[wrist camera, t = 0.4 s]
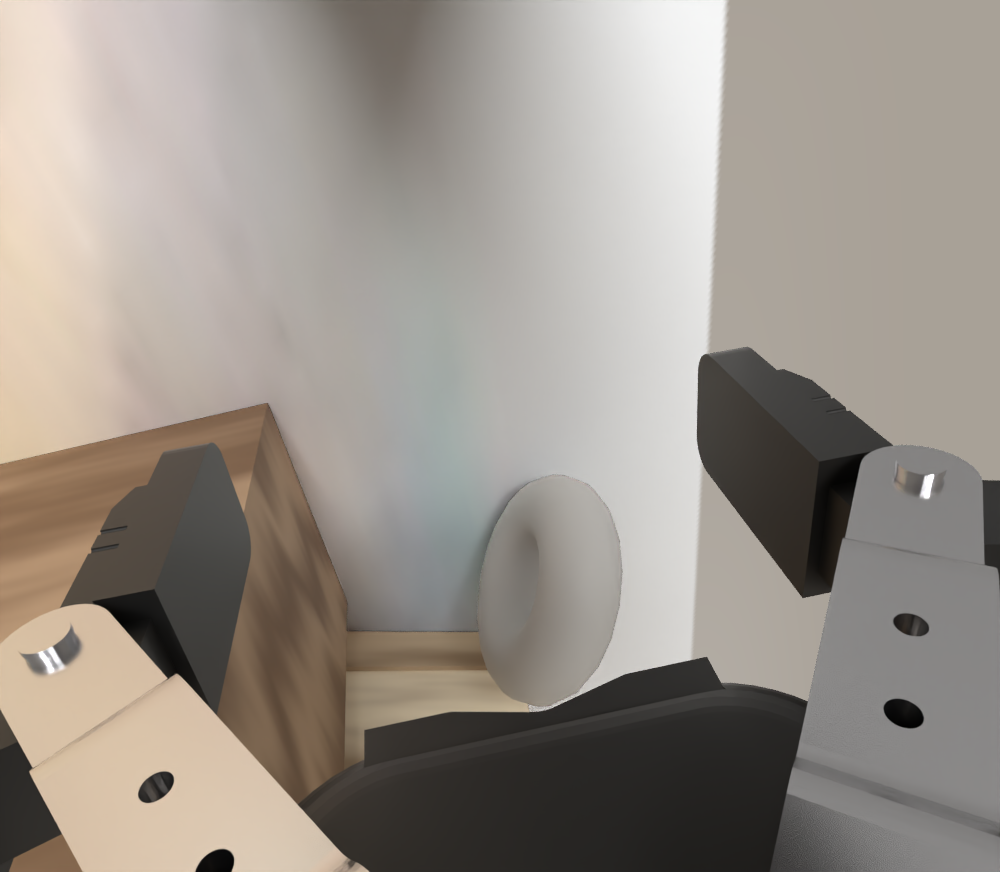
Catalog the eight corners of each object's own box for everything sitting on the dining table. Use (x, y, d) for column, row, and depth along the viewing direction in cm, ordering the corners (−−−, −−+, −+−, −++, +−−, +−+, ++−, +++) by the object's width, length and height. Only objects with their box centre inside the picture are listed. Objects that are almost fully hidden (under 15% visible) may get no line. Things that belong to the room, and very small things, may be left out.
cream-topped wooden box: (-50, 471, 30) (-1570, 2276, 6) (270, 397, 31) (-29, 1794, 7) (91, 667, 37) (-397, 1912, 13) (352, 604, 38) (341, 1680, 14)
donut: (516, 596, 39) (559, 762, 31) (456, 585, 38) (483, 754, 30) (594, 442, 35) (669, 587, 26) (528, 425, 34) (584, 571, 25)
